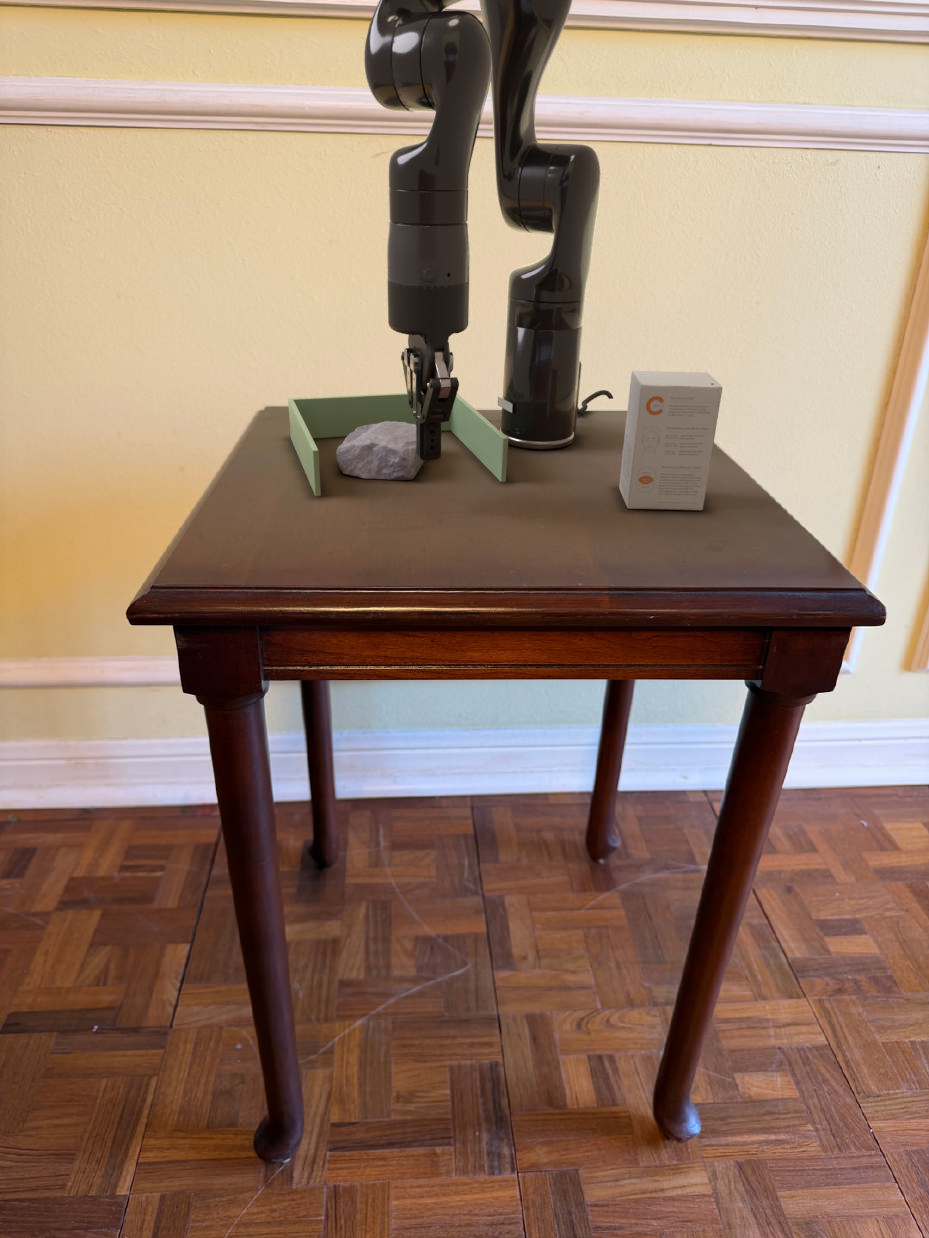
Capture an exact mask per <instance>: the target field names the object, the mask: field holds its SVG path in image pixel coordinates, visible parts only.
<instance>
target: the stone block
mask: <svg viewBox="0 0 929 1238" xmlns="http://www.w3.org/2000/svg"><path fill="white" fill-rule="evenodd" d="M335 453H336V454H335V455H336V462H337V464H338V467H339V469H340V470H341V472H342V474H344V475H348V476H353V477H357V478H360V479H363V480H390V481H392V480H395V481H396V480H397V481H412V480H413V479H415V477H416V476H417V474H418V472H419V470H420V469H421V468H422V466H423V464H424V463H425V461H423V460H421V459H420V457H419V456H418V455H417V453H416V425H415V424H408V423H406V422H396V421H393V422H390V421H386V422H381V423H378V424H370V425H364V426H361V427H358V428H356V429H355V431H354V432H352V433H350V434H349V435H348V436H346V437H345V438H344V440H343V441H342V444H340V445H339V446H338V447H337V449H336V452H335Z"/></svg>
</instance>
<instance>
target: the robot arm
mask: <svg viewBox="0 0 929 1238" xmlns="http://www.w3.org/2000/svg"><path fill="white" fill-rule="evenodd" d="M463 1H465V0H378V3H377V4H376V7H375V9H374V12H373V14H372V17H371V19H370V23H369V25H368V27H367V28H368V29H367V33H366V37H365V41H364V47H363V70H364V76H365V80H366V84H367V87H368V89H369V92H370V94H371V95H372V98H373V99H374V100H375V102H376V103H377V104H378V105H380V106H381V107H382V108H384V109H386V110H388V111H391V112H395V113H396V112H397V113H435V114H434V117H433V121H432V123H431V126H430V129H429V131H428V134H427V136H426V138H425V139H424V140H421V141H419V142H416V143H411V144H407V145H403V146H400V147H398V148H396V149H394V150H393V151H392V152H391V154H390V156H389V159H388V163H387V188H388V189H387V190H388V192H387V193H388V194H387V195H388V197H387V198H388V231H387V239H386V240H387V241H386V280H387V281H386V284H387V320H388V321H387V322H388V326H389V328H390V329H391V330H392V331H394V332H396V333H399V334H403V335H407V344H408V346H407V347H404V348H403V351H402V352H401V355H400V360H401V363H402V369H403V375H404V381H405V387H406V393H407V394H408V404H409V406H410V408H413V416H414V419H415V420H416V419H417V421H416V453H417V455H418V456H419V457H420V459H421V460H423V461H424V462H426V461H438V460H440V458H441V457H442V431H441V423H443V422H448V421H449V418H450V415H451V412H452V408H453V405H454V402H455V398H456V395H457V394H458V391H459V388H460V382H459V379H458V377H457V376H454V377H452V376H451V373H452V372H453V370H454V362H455V361H454V359H455V358H454V353H453V351H451V350H450V342H449V339H450V337H451V336H452V335H454V334H460V333H462V332H464V331H466V329H468V327H469V315H470V314H469V313H470V311H469V310H470V306H469V304H470V266H471V265H470V261H471V258H470V257H471V253H470V250H471V249H470V248H471V247H470V238H469V227H468V226H469V225H468V220H469V214H468V213H469V174H470V168H471V162H472V159H473V154H474V150H475V145H476V140H477V137H478V133H479V132H478V131H479V128H480V123H481V120H482V115H483V112H484V109H485V105H486V101H487V99H488V94H489V90H490V96H491V111H492V113H491V114H492V132H493V133H492V134H493V135H492V136H493V155H494V174H495V190H496V197H497V204H498V209H499V212H500V215H501V217H502V221H503V222H504V224H505V225H506V226H507V227H508V229H510V230H512V231H514V232H519V233H526V234H535V235H547V236H549V235H550V236H553V238H552V243H551V246H550V250H549V252H548V253H547V254H546V255H545V256H543V257H542V258H540V259H538V260H537V261H534V262H532V263H529V264H524V265H521V266H519V267H516V268H514V269H512V270H511V271H510V272H509V274H508V279H507V291H506V293H507V294H506V295H507V296H506V309H505V310H506V312H505V333H504V334H505V335H504V337H505V338H504V353H503V356H504V357H503V373H502V374H503V376H502V394H501V395H502V396H501V397H500V396H497V406H498V407H500V408H501V412H500V413H501V416H500V427H499V431H500V432H502V433H503V434H504V435H505V436H506V437H507V438H508V445H511V446H514V447H518V448H523V449H529V450H531V449H533V450H554V449H560V448H565V447H567V446H569V445H571V444H573V442H574V437H575V436H576V431H577V430H576V429H577V419H578V416H579V415H583V413H586V411H587V409H588V407H589V406H588V404H589V403H590V402H592V401H593V400H595V399H596V398H598V397H600V396H601V397H602V396H606V397H607V399H610V400H613V399H614V396H613V394H612V393H611V392H610V391H609V390H608V389H607V390H606V389H602V390H597V391H596V392H594V393H591V394H590V395H589V396H587V397H586V398H584V399H583V400H582V401H581V407H580V408H579V397H580V386H581V377H582V365H583V364H582V362H581V350H582V337H583V326H584V325H583V323H584V312H585V302H586V295H587V285H588V281H589V276H590V271H591V267H592V260H593V249H594V241H595V234H596V226H597V219H598V214H599V207H600V198H601V189H602V188H601V187H602V172H601V171H602V170H601V169H602V168H601V164H600V160H599V156H598V154H597V152H596V151H595V149H594V148H592V147H591V146H589V145H588V144H587V145H586V144H579V143H577V144H576V143H559V142H558V143H556V142H555V143H553V142H538V139H537V133H536V132H537V131H536V103H537V96H538V91H539V89H540V88H539V87H540V84H541V82H542V78H543V76H544V74H545V71H546V68H547V66H548V64H549V62H550V59H551V57H552V55H553V54H554V51H555V49H556V47H557V45H558V42H559V40H560V37H561V35H562V34H563V31H564V28H565V26H566V24H567V21H568V19H569V15H570V12H571V8H572V5H573V0H478V1H479V2H478V3H479V7H480V14H481V20H482V22H481V20H479V19H480V18H478V17H477V16H476V15H474V14H473V13H471V12H469V11H465V10H458V9H457V10H446V9H448V8H449V7H452V6H453V5H455V4H456V5H457V4H458V3H461V2H463Z"/></svg>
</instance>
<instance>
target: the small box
mask: <svg viewBox="0 0 929 1238" xmlns="http://www.w3.org/2000/svg"><path fill="white" fill-rule="evenodd" d="M722 394H723V386H722V385H721V384H720V383H719V382H718V381H717V380H716V379H715V378H714V377H713V376H712V375H711V374H710V373H709V372H707V371H706V372H705V371H704V372H703V371H701V372H700V371H660V370H657V371H656V370H632V371H631V375H630V383H629V391H628V401H627V402H628V403H627V411H626V420H625V428H624V437H623V446H622V456H621V465H620V466H621V467H620V475H619V485H618V490H619V492H620V494H621V496H622V499H623V501H624V503H625V506H626V508H627V509H629V510H672V511H673V510H675V511H677V510H678V511H679V510H680V511H703V510H704V504H705V498H706V492H707V487H708V480H709V477H710V469H711V464H712V457H713V452H714V451H713V450H714V443H715V437H716V432H717V431H716V430H717V425H718V419H719V412H720V407H721V400H722Z"/></svg>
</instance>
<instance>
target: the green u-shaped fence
mask: <svg viewBox="0 0 929 1238" xmlns="http://www.w3.org/2000/svg"><path fill="white" fill-rule="evenodd" d="M287 403H288V404H287V405H288V418H289V419H288V420H289V433H290V440H291V443H292V444H293V447H294V449H295V452H296V454H297V456H298V457H297V458H298V459H299V462H300V464H301V466H302V468H303V471H304V473H305V476H306V479H307V480H308V482H309V485H310V487H311V489H312V492H313V494H314V497H321V496H322V492H321V491H322V490H321V489H322V488H321V470H320V454H319V453H320V451H319V449H318V446H317V444H316V443H315V440H314V439H325V438H326V439H328V438H344V437H345V438H346V437H347V436H348V435H349V434H350V433H352V432H354V431H355V429H356V428H358V427H361V426H364V425H370V424H378V423H381V422H386V421H390V422H393V421H396V422H406V423H408V424H415V425H416V421H417V419H416V420H415V419H414V416H413V408H410V406H409V404H408V394H407V392H402V393H401V392H400V393H399V392H398V393H381V394H380V393H379V394H359V395H358V394H357V395H338V396H337V395H335V396H315V397H314V396H313V397H293V398H287ZM443 431H450V432H452V433H453V434H454V435H455V436H456V437H457V439H458V440H459V441H460V442H461V443H462V444H463V445H464V446H465V447H466V448H467V449H468V450H469V451H470V452H471V453H472V454H473V456H475V457H476V458H477V459H478V460H479V461H480V462H481V463H482V464H483V465H484V466H485V468H486V469H487V470H489V472H490V473H492V475H493V476H494V477H495V478H496V479H497V480H498V481H499V482H500V483H506V482H507V468H508V449H509V444H508V438H507V437H506V436H505V435H504V434H503V433H502V432H500V429H498V428H497V427H496V426H495V425H493V423H491V421H489V420H488V419H487V418H486V417H485V416H484V415H482V414H481V412H479V411H478V410H476V409H475V408H474V407H473V405H471V404H470V403H468V401H467V400H465V399H464V398H463V397H462V396H461V395H460V394H459V393H457V395H456V398H455V402H454V405H453V408H452V412H451V415H450V418H449V421H448V422H443V423H441V432H443Z"/></svg>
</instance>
